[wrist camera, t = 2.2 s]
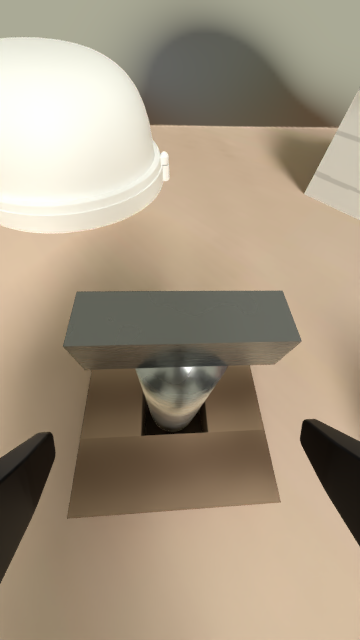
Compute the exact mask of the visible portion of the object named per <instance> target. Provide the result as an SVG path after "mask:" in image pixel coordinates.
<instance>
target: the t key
mask: <svg viewBox="0 0 360 640" xmlns="http://www.w3.org/2000/svg"><path fill="white" fill-rule="evenodd" d="M300 342H301V338H300V335H299V333H298V330H297V328H296V325H295V322H294V320H293V317H292V314H291V312H290V309H289V306H288V304H287V301H286V299H285V296H284V293H283V291H108V292H77V293H76V297H75V301H74V305H73V309H72V313H71V317H70V321H69V325H68V329H67V333H66V336H65V340H64V344H63V347H64V348H65V349H66V350H67V351H68V352H69V353H70V354H71V356H72V357H73V358H74V359H75V360H76V361H77V362H78V363H79V364H80V365H81V366H82V367H83V368H84V369H85V370H100V369H134V368H135V369H136V372H137V375H138V378H139V381H140V384H141V387H142V390H143V392H144V395H145V398H146V401H147V404H148V407H149V410H150V412H151V415H152V418H153V420H154V422H155V423H156V424H157V426H159V427H160V428H161V429H163V430H165V431H169V432H176V431H180V430H182V429H184V428H185V427H186V426H187V425H188V424H189V423H190V422H191V420H192V419H193V417H194V416H195V415H196V413H197V412H198V410H199V409H200V407H201V406H202V404H203V403H204V402H205V400H206V399H207V397H208V396H209V394H210V393H211V391H212V390H213V389H214V387H215V386H216V384H217V383H218V381H219V380H220V378H221V377H222V376H223V374H224V373H225V371H226V369H227V367H228V366H237V365H271V364H276V363H277V362H278V361H279V360H280V359H281V358H283V357H284V356H285V355H286V354H287V353H289V352H290V351H291V350H292V349H293V348H294V347H296V346H297V345H298V344H299V343H300Z"/></svg>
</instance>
